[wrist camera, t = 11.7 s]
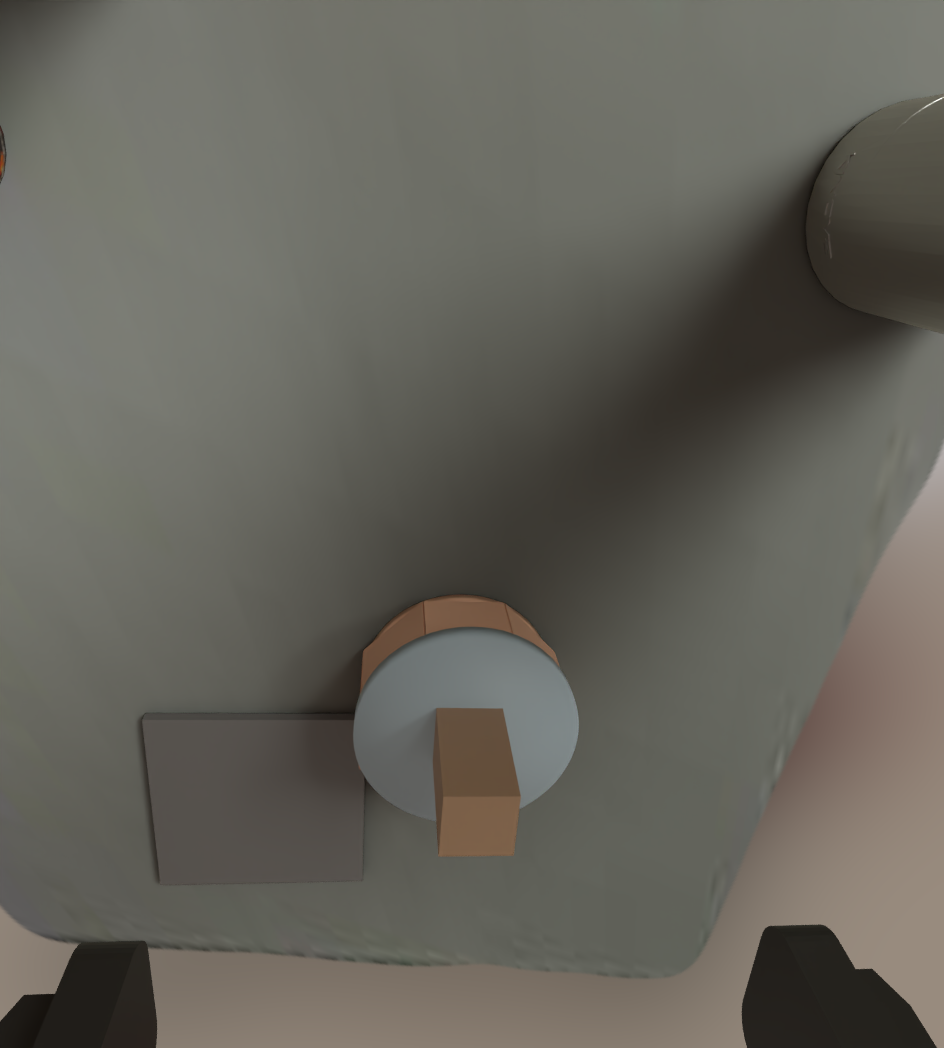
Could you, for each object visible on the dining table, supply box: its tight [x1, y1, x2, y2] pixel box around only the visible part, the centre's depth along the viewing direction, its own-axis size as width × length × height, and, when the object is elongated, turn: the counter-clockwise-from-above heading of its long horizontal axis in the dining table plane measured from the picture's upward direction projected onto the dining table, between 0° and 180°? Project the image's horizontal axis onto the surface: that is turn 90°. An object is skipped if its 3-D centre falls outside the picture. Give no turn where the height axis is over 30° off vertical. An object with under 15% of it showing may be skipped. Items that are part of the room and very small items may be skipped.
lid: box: [353, 627, 579, 856], centre depth 36 cm, size 11×11×7 cm
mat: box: [142, 713, 365, 885], centre depth 46 cm, size 12×12×1 cm
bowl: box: [359, 594, 559, 770], centre depth 42 cm, size 10×10×5 cm
